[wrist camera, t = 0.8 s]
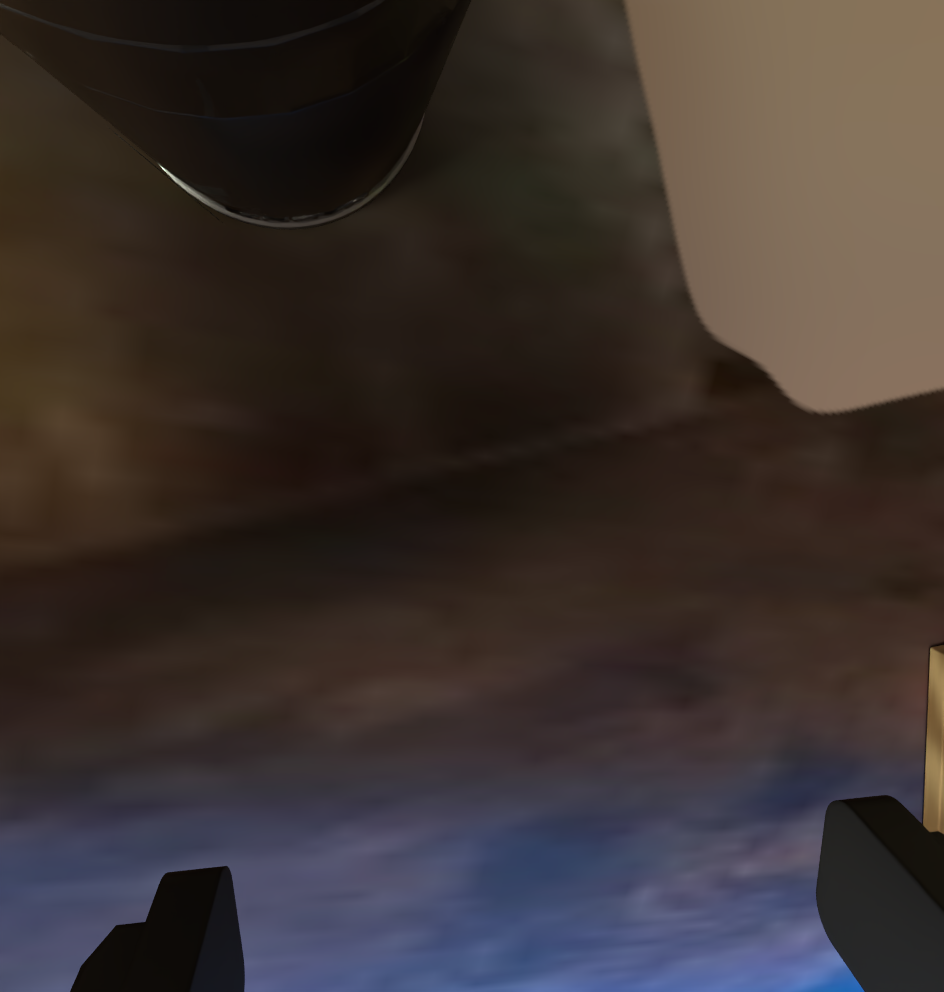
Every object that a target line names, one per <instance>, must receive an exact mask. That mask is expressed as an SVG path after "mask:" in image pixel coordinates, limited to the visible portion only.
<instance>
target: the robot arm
mask: <svg viewBox="0 0 944 992" xmlns="http://www.w3.org/2000/svg"><path fill="white" fill-rule="evenodd" d="M470 2H471V0H0V34H1V35H2V36H3V37H4V38H6V39H7V40H8V41H9V42H11V43H12V44H13V45H15V46H16V47H18V48H19V49H20V50H22V51H23V52H24V53H25V54H26V55H28V56H29V57H30V58H31V59H33V60H34V61H35V62H36V63H37V64H39V65H40V66H41V67H42V68H43V69H45V70H46V71H47V72H48V73H49V74H51V75H52V76H53V77H54V78H55V79H57V80H58V81H59V82H60V83H62V84H63V85H64V86H65V87H66V88H68V89H69V90H70V91H71V92H72V93H74V94H75V95H76V96H77V97H78V98H80V99H81V100H82V101H83V102H85V103H86V104H87V105H88V106H89V107H91V108H92V109H93V110H94V111H95V112H97V113H98V114H99V115H100V116H101V117H103V118H104V119H105V120H106V121H107V122H109V123H110V124H111V125H112V126H114V127H115V128H116V129H117V130H118V131H120V132H121V133H122V134H123V135H124V136H126V137H127V138H128V139H129V140H130V141H132V142H133V143H134V144H135V145H136V146H138V147H139V148H140V149H141V150H143V151H144V152H145V153H146V154H147V155H149V156H150V157H151V158H152V159H153V160H155V161H156V162H157V163H158V164H159V165H160V166H161V168H162V169H163V170H164V171H165V172H166V173H167V174H168V175H169V176H170V177H171V178H172V179H173V180H174V181H175V182H176V183H178V184H179V185H180V186H181V187H182V188H184V189H185V190H186V191H187V192H188V193H190V194H191V195H192V196H194V197H195V198H197V199H198V200H199V201H201V202H202V203H204V204H205V205H207V206H209V207H211V208H212V209H214V210H216V211H218V212H220V213H222V214H224V215H226V216H228V217H230V218H233V219H236V220H239V221H241V222H244V223H247V224H251V225H256V226H260V227H266V228H273V229H289V230H291V229H306V228H312V227H318V226H322V225H325V224H329V223H332V222H335V221H338V220H340V219H343V218H345V217H347V216H349V215H351V214H353V213H355V212H357V211H358V210H360V209H361V208H363V207H364V206H366V205H367V204H369V203H370V202H371V201H373V200H374V199H375V198H376V197H377V196H379V195H380V194H381V193H382V192H383V191H384V190H385V189H386V188H387V187H388V186H389V185H390V183H391V182H392V181H393V180H394V178H395V177H396V176H397V175H398V173H399V172H400V170H401V169H402V167H403V166H404V164H405V162H406V161H407V159H408V157H409V155H410V153H411V151H412V149H413V147H414V144H415V142H416V139H417V137H418V134H419V132H420V129H421V126H422V122H423V119H424V115H425V111H426V108H427V106H428V104H429V101H430V99H431V96H432V94H433V92H434V89H435V87H436V84H437V82H438V79H439V77H440V74H441V72H442V70H443V67H444V65H445V62H446V60H447V57H448V55H449V53H450V50H451V48H452V45H453V43H454V40H455V38H456V36H457V33H458V31H459V28H460V26H461V23H462V21H463V19H464V16H465V14H466V11H467V9H468V6H469V4H470ZM109 129H110V128H109ZM114 133H115V132H114ZM115 134H116V133H115ZM119 137H120V136H119ZM120 138H121V137H120ZM121 139H122V138H121ZM122 140H123V139H122ZM125 142H126V141H125ZM126 143H127V142H126ZM127 144H128V143H127ZM128 145H129V144H128ZM131 147H132V146H131ZM132 148H133V147H132ZM133 149H134V148H133ZM134 150H135V149H134ZM137 152H138V151H137ZM138 153H139V152H138ZM139 154H140V153H139ZM140 155H141V154H140ZM143 157H144V156H143ZM144 158H145V157H144ZM145 159H146V158H145ZM146 160H147V159H146ZM149 162H150V161H149ZM150 163H151V162H150ZM151 164H152V163H151ZM152 165H153V164H152ZM155 167H156V166H155ZM156 168H157V167H156ZM157 169H158V168H157ZM158 170H159V169H158ZM161 172H162V171H161ZM162 173H163V172H162ZM163 174H164V173H163ZM164 175H165V174H164ZM167 177H168V176H167ZM168 178H169V177H168ZM169 179H170V178H169ZM170 180H171V179H170ZM174 181H173V182H174ZM175 182H174V183H175ZM176 183H175V184H176ZM176 185H177V184H176ZM181 187H180V188H181ZM182 188H181V189H182ZM182 190H183V189H182ZM187 192H186V193H187ZM188 193H187V194H188ZM188 195H189V194H188ZM192 198H193V197H192ZM193 199H194V198H193ZM194 200H195V199H194ZM198 203H199V202H198ZM199 204H200V203H199ZM200 205H201V204H200ZM204 208H205V207H204ZM205 209H206V208H205ZM206 210H207V209H206ZM210 213H211V212H210ZM211 214H212V213H211ZM212 215H213V214H212ZM213 216H214V215H213ZM216 218H217V217H216ZM217 219H218V218H217ZM218 220H219V219H218ZM222 223H223V222H222ZM816 900H817V907H818V911H819V915H820V919H821V922H822V924H823V927H824V929H825V932H826V934H827V936H828V938H829V940H830V941H831V943H832V945H833V946H834V948H835V949H836V950H837V952H838V953H839V955H840V956H841V958H842V959H843V961H844V962H845V964H846V965H847V966H848V968H849V969H850V971H851V972H852V974H853V975H854V977H855V978H856V980H857V981H858V982H859V984H860V985H861V987H862V988H863V990H864V991H865V992H944V834H942V833H941V832H939V831H935V832H929V831H928V830H927V829H926V828H925V827H924V826H923V825H922V824H921V823H920V822H919V821H918V820H917V819H916V818H915V817H914V816H913V815H912V814H911V813H910V812H909V811H908V810H907V809H906V808H905V807H904V806H903V805H902V804H901V803H900V802H899V801H898V800H896V799H895V798H893V797H891V796H888V795H881V796H872V797H863V798H854V799H845V800H836V801H833V802H831V803H830V804H829V806H828V808H827V810H826V815H825V822H824V831H823V839H822V847H821V855H820V863H819V871H818V879H817V887H816ZM244 985H245V973H244V958H243V951H242V944H241V937H240V930H239V923H238V916H237V909H236V902H235V895H234V888H233V881H232V875H231V872H230V869H229V868H228V866H222V867H213V868H204V869H195V870H186V871H177V872H168V873H166V874H165V875H164V876H163V877H162V879H161V881H160V884H159V886H158V889H157V892H156V894H155V897H154V900H153V903H152V905H151V908H150V911H149V914H148V916H147V919H146V922H141V923H132V924H124V925H116V926H115V927H114V929H113V930H112V931H111V932H110V933H109V934H108V936H107V937H106V938H105V939H104V940H103V941H102V942H101V944H100V945H99V946H98V947H97V948H96V949H95V951H94V952H93V953H92V954H91V955H90V956H89V958H88V959H87V960H86V961H85V962H84V963H83V964H82V966H81V968H80V970H79V972H78V975H77V977H76V979H75V982H74V984H73V986H72V989H71V991H70V992H244Z"/></svg>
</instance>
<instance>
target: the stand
mask: <svg viewBox="0 0 944 992" xmlns="http://www.w3.org/2000/svg"><path fill="white" fill-rule="evenodd" d="M923 826H924V827H925V828H926V829H927V830H928V831H929V832H935V831H939V832H941V833H942V834H944V645H940V646H935V647H931V648H930V667H929V692H928V717H927V741H926V766H925V791H924V816H923Z"/></svg>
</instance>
